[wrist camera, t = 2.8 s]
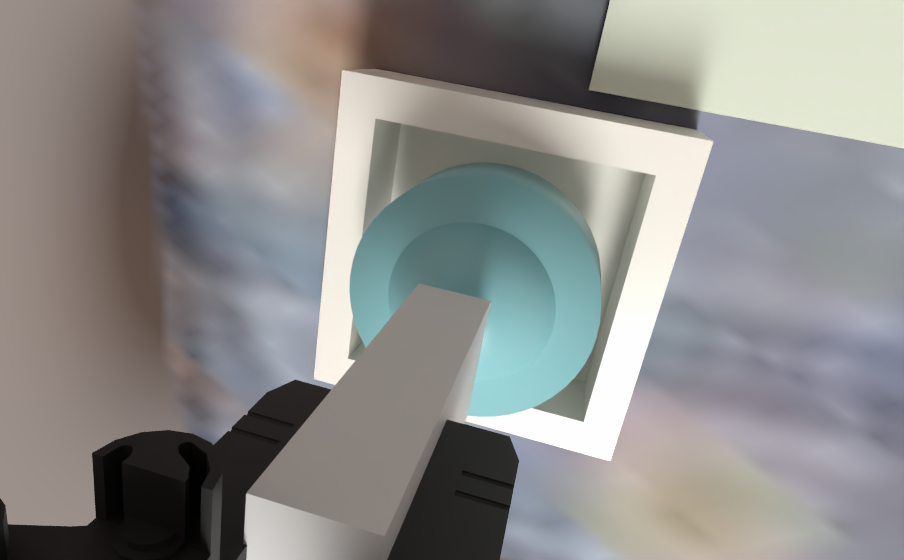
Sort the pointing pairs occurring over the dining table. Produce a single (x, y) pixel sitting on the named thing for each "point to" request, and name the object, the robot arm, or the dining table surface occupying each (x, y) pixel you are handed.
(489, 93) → the housing
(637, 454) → the dining table surface
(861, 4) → the pad
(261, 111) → the dining table surface
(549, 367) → the light blue round piece
